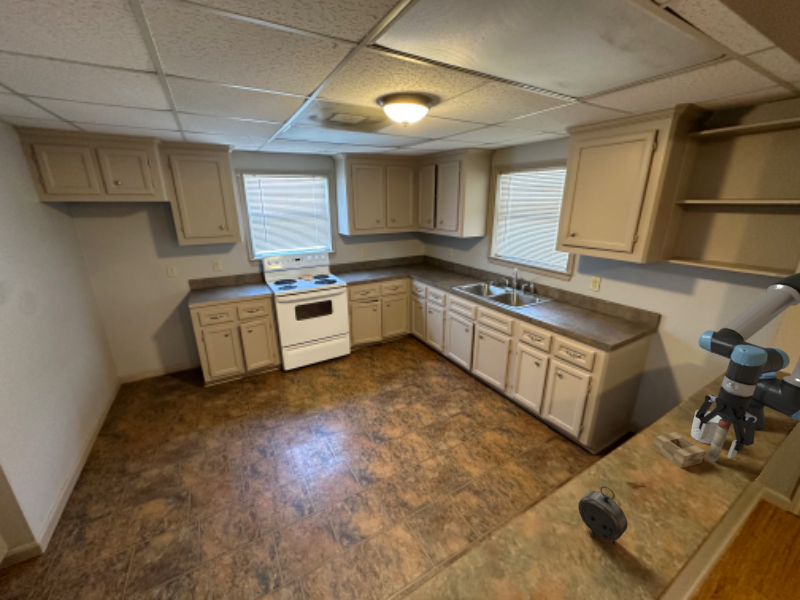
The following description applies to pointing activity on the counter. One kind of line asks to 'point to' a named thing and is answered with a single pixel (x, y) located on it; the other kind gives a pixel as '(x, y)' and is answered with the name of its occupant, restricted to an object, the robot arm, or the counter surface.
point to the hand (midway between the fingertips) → (716, 447)
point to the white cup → (711, 431)
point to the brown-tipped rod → (718, 440)
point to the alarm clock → (603, 515)
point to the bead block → (678, 449)
